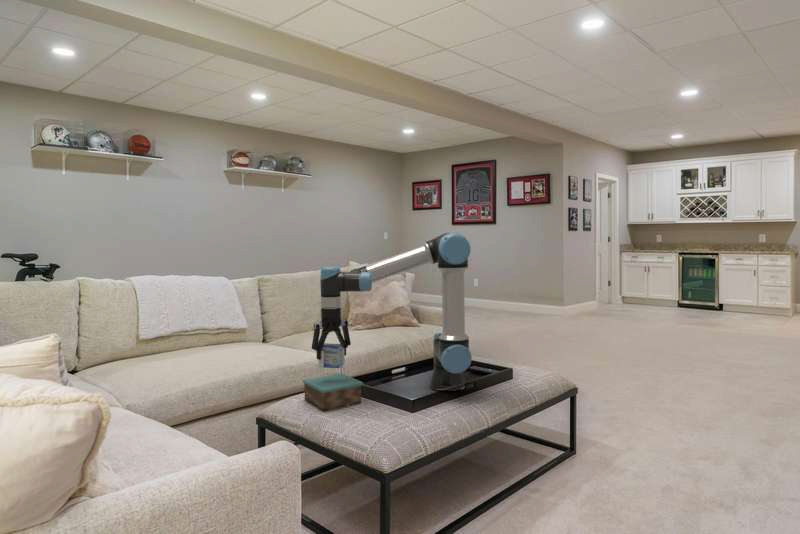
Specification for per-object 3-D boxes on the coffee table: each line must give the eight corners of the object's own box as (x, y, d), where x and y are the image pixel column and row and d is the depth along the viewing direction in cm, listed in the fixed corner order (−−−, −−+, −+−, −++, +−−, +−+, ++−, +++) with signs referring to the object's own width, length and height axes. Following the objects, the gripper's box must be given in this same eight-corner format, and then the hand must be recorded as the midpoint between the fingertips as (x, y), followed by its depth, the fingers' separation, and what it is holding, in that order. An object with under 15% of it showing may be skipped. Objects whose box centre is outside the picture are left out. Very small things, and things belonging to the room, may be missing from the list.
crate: (340, 392, 214) (340, 375, 213) (361, 403, 201) (360, 385, 200) (304, 400, 204) (304, 382, 204) (323, 411, 191) (323, 392, 191)
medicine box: (319, 367, 200) (319, 345, 200) (324, 364, 205) (323, 342, 204) (339, 368, 199) (339, 346, 198) (343, 365, 203) (343, 343, 202)
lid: (341, 375, 213) (341, 373, 213) (363, 385, 200) (363, 382, 200) (303, 382, 204) (303, 380, 204) (323, 393, 190) (323, 390, 190)
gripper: (350, 303, 209) (350, 359, 211) (301, 308, 197) (302, 368, 199) (359, 306, 203) (360, 363, 205) (309, 311, 191) (310, 372, 192)
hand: (331, 365), depth 202 cm, fingers closed on medicine box, 8 cm apart
